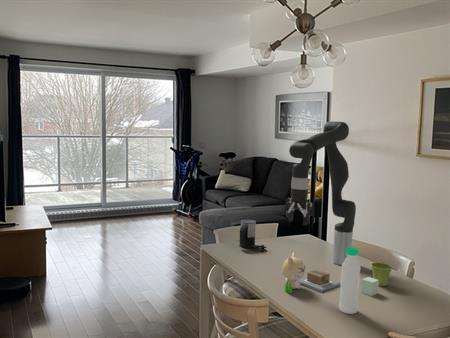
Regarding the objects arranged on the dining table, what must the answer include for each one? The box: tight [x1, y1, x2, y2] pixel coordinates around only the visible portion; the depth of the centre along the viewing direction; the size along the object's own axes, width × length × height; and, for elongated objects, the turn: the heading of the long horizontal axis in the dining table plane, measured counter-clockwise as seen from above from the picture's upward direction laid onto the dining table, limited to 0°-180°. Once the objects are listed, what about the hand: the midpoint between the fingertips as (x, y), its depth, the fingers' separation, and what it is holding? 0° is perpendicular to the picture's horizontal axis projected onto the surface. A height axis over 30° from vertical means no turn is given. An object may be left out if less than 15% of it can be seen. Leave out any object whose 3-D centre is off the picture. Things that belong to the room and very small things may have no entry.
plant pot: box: [370, 262, 393, 287], centre depth 205 cm, size 9×9×9 cm
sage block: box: [361, 276, 379, 297], centre depth 194 cm, size 5×5×6 cm
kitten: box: [281, 251, 306, 294], centre depth 196 cm, size 15×10×15 cm
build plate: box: [299, 276, 341, 293], centre depth 202 cm, size 14×14×1 cm
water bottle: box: [338, 246, 362, 315], centre depth 173 cm, size 7×7×25 cm
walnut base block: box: [306, 269, 330, 286], centre depth 202 cm, size 7×7×4 cm
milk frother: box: [239, 219, 267, 251], centre depth 257 cm, size 14×16×15 cm
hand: (298, 223), depth 201 cm, fingers open, 8 cm apart
